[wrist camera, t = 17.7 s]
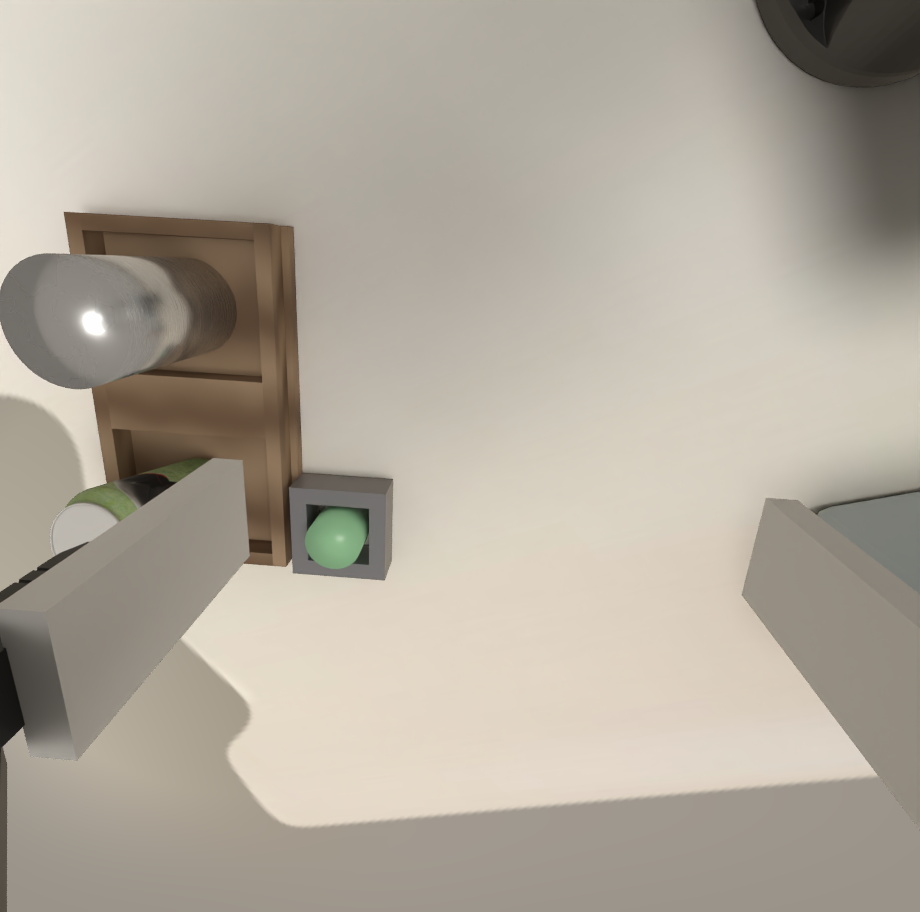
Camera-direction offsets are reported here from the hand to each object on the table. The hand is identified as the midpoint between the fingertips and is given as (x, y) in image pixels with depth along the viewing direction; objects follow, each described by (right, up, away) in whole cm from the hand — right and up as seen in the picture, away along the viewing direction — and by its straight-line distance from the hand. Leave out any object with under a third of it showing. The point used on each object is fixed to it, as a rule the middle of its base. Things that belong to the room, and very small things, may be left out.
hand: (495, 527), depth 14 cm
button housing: (-10, -3, +30) cm, 31 cm away
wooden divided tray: (-20, +6, +27) cm, 34 cm away
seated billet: (-19, +12, +24) cm, 33 cm away
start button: (-10, -3, +31) cm, 32 cm away
